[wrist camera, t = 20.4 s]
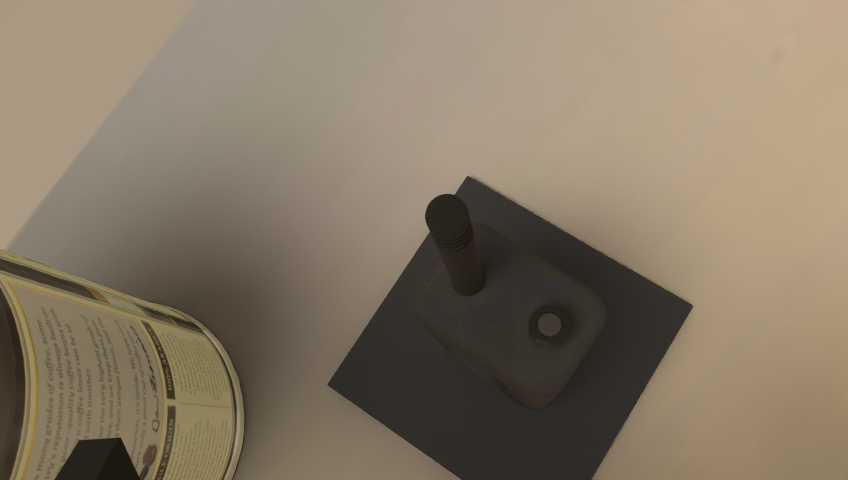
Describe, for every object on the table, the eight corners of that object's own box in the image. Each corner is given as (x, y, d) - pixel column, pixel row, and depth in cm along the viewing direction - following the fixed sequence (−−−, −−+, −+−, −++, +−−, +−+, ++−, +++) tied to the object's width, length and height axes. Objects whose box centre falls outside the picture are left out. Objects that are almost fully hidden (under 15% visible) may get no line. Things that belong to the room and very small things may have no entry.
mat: (329, 385, 28) (326, 384, 27) (468, 178, 29) (467, 175, 29) (552, 542, 25) (552, 544, 25) (691, 307, 27) (693, 305, 26)
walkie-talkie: (585, 347, 26) (665, 243, 12) (535, 423, 26) (556, 411, 11) (478, 277, 28) (434, 107, 13) (428, 349, 27) (327, 253, 13)
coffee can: (24, 607, 27) (-475, 781, 13) (-12, 349, 30) (-449, 279, 16) (277, 519, 26) (27, 607, 13) (215, 268, 29) (-40, 127, 16)
